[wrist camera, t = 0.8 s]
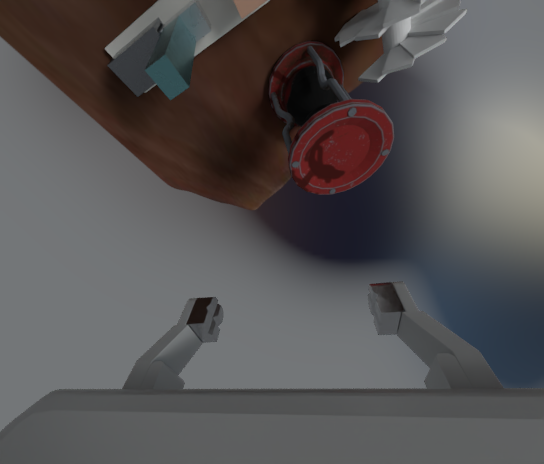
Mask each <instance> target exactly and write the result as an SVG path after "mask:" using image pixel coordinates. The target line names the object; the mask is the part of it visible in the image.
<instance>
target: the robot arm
mask: <svg viewBox="0 0 544 464" xmlns="http://www.w3.org/2000/svg"><path fill="white" fill-rule="evenodd" d="M369 292H370V293H369V294H368V304H369V308H370V311H371V313H372V315H374V324H375V327H376V330H377V332H378V335H385V334H386V335H391V334H397V336H398V337H399V338H400V339H401V340H402V341H403V342H404V343H405V344H406V345H407V346H409V347H410V349H411V350H412V351H413V352H414V353H416V354H417V356H418V357H419V358H420V359H421V360H422V361H423V362H425V364H426V365H427V366H428V367H429V368H430V370H429V372H428V375H427V377H426V379H425V381H424V382H425V384H426V387H427V389H183V387H184V384H185V383H184V381H183V380H182V379H181V378H180V377H179V376H178V375H179V373H180V372H181V371H182V369H183V368H184V367H185V365H186V364H187V363H188V362H189V361H190V359H191V358H192V357H193V355H194V354H195V353H196V351H197V350H198V349H199V347H200V346H201V345H202V343H203V342H217V338H218V335H219V331H220V329H219V327H218V326H219V325H220V324H221V323H222V320H223V309H222V307H221V305H219V304H217V303H218V300H217V298H216V297H208V298H193V299H189V300H188V301H187V303H186V305H185V308H184V310H183V312H182V315H181V317H180V319H179V321H178V323H177V325H175V326H173V327H172V328H171V329H170V330H169V331H168V332H167V333H166V334H165V335H164V336H163V337H162V338H161V339H160V340H158V341H157V342H156V343H155V344H154V345H153V346H152V347H151V348H150V349H149V350H148V351H147V352H146V353H145V354H144V355H143V356H141V357H140V358H139V359H138V360H137V361H136V363H135V365H134V367H133V369H132V371H131V373H130V375H129V377H128V379H127V381H126V382H125V384H124V386H123V388H122V389H59V390H55V391H52V392H50V393H49V394H47V395H46V396H44V397H43V398H41V399H40V400H39V401H37V402H36V403H35V404H33V405H32V406H31V407H29V408H28V409H27V410H26V411H25V412H23V413H22V414H21V415H19V416H18V417H17V418H15V419H14V420H13V421H12V422H11V423H9V424H8V425H7V426H6V427H5V428H4V429H3V430H2V431H1V432H0V464H544V388H533V389H532V388H527V389H526V388H522V389H521V388H518V389H517V388H512V389H510V388H507V389H505V388H503V386H502V385H501V383H500V382H499V380H498V379H497V377H496V376H495V374H494V373H493V371H492V370H491V368H490V367H489V365H488V364H487V362H486V360H485V359H484V357H483V356H482V354H481V353H480V351H478V350H477V349H475V348H474V347H472V346H471V345H470V344H468V343H467V342H465V341H464V340H462V339H461V338H460V337H458V336H457V335H456V334H454V333H453V332H451V331H450V330H449V329H447V328H445V327H444V326H443V325H442V324H440V323H439V322H437V321H436V320H435V319H433V318H432V317H430V316H429V315H427V314H426V313H425V312H423V311H419V310H418V308H417V306H416V304H415V302H414V301H413V299H412V297H411V295H410V293H409V291H408V289H407V287H406V286H405V284H404V283H403V282H387V283H376V284H369Z"/></svg>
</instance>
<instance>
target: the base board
mask: <svg viewBox="0 0 544 464" xmlns="http://www.w3.org/2000/svg"><path fill="white" fill-rule="evenodd" d="M190 1H192V0H158V1H157V2H156V3H155V4H153V5H152V6H151V7H150V8H149V9H148V10H147V11H146V12H144V13H143V14H142V15H141V16H140V17H139V18H138V19H137V20H135V21H134V22H133V23H132V24H131V25H130V26H129V27H128V28H126V29H125V30H124V31H123V32H122V33H121V34H120V35H119V36H117V37H116V38H115V39H114V40H113V41H112V42H111V43H109V44H108V45H107V46H106V47H105V50H106V51H107V52H108V53H109V54H110V55H111V56H112V57H114V55H115V54H116V53H117V52H118V51H119V50H120V49H122V48H123V47H124V46H125V45H126V44H127V43H129V42H130V41H131V40H132V39H133V38H134V37H136V36H137V35H138V34H139V33H140V32H141V31H143V30H144V29H145V28H146V27H147V26H148V25H150V24H151V23H152V22H153V21H154V20H155V19H157V18H158V17H159V19H160V20H161V22H162V23H163V24H164V23H165V22H167V21H168V20H169V19H170V18H171V17H173V16H174V15H175V14H176V13H177V12H179V11H180V10H181V9H182V8H183V7H185V6H186V5H187V4H188V3H189V2H190ZM198 1H199V2H200V4H201V6H202V8H203V10H204V12H205V13H206V15H207V17H208V19H209V21H210V23H211V24H212V25H211V32H209V33H208V34H207V35H205V36H204V37H203V38H201V39H200V40H199V41H198V42H196V46H195V53H194V57H195V56H196V55H197V54H199V53H200V52H201V51H203V50H204V49H205V48H207V47H208V46H209V45H211V44H212V43H213V42H215V41H216V40H217V39H219V38H220V37H222V36H223V35H224V34H226V33H227V32H228V31H230V30H231V29H232V28H234V27H235V26H236V25H238V24H239V23H240V22H242V21H243V20H244V19H246V18H247V17H248V16H250V15H251V14H253V13H254V12H255V11H257V10H258V9H259V8H261V7H262V6H263V5H265V4H266V3H267V2H269V1H270V0H267V1H266V2H265V3H263V4H262V5H260V6H259V7H258V8H256V9H255V10H254V11H252V12H251V13H250V14H248V15H247V16H246V17H244V18H243V19H242V18H241V16H240V14H239V12H238V10H237V7H236V5H235V3H234V1H233V0H198ZM155 85H157V84H154V85H153V86H152V87H150V88H149V89H148V90H146V91H145V93H146V92H147V91H149V90H150V89H151V88H153V87H154V86H155Z"/></svg>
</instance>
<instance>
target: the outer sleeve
mask: <svg viewBox="0 0 544 464" xmlns="http://www.w3.org/2000/svg"><path fill="white" fill-rule="evenodd" d="M162 25H163V23H162V22H161V20H160V19H159V17H158V18H157V19H155V20H154V21H153V22H152V23H151V24H150V25H148V26H147V27H146V28H145V29H144V30H143V31H141V32H140V33H139V34H138V35H137V36H136V37H134V38H133V39H132V40H131V41H130V42H129V43H127V44H126V45H125V46H124V47H123V48H122V49H120V50H119V51H118V52H117V53H116V54H115V55H114V57H113V58H112V60H111V61H110V62H109V64H108V65H107V66H108V67H109V68H110V69H111V70H112V71H113V72H114V73H115V74H116V75H117V76H118V77H119V78H120V79H121V80H122V81H123V82H124V83H125V84H126V85H127V86H128V87H129V88H130V90H131V91H132V92H133V93H134V94H135V95H136V96H137V97H138V96H140V95H141V94H142V93H144V92H145V91H146V90H148V89H149V88H150V87H152V86H153V85H154V84H156V83H155V82H154V81H153V80H152V78H151V77H150V76H149V75H148V74H147V73H146V71H145V69H146V66H147V64H148V62H149V60H150V57H151V55H152V53H153V51H154V49H155V46H156V44H157V42H158V40H159V38H160V34H159V32H158V31H157V29H158V28H159V27H161V26H162Z"/></svg>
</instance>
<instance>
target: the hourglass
mask: <svg viewBox="0 0 544 464" xmlns="http://www.w3.org/2000/svg"><path fill="white" fill-rule="evenodd" d="M343 76H344V72H343V68H342V65H341V61H340V59H339V58H338V56H337V55H336V54H335V52H334V51H333V49H332V48H330V47H329V46H327V45H325V44H324V43H322V42H318V41H305V42H302V43H299V44H296V45H294V46H293V47H291V48H290V49H289V50H287V51H286V52H285V53H283V55H282V56H281V57H280V59H279V60H278V61H277V63H276V64H275V66H274V68H273V71H272V74H271V76H270V79H269V91H268V93H269V97H270V102H271V106H272V108H273V110H274V112H275V114H276V115H277V117H279V118H280V119H281V120H282V121H283V122H284V123H287V125H286V126H285V127H284V129H283V132H282V134H283V137H284V141H285V144H286V147H287V151H288V154H289V156H288V163H289V168H290V173H291V176H292V178H293V179H294V181H295V182H296V184H297V185H298V186H299V187H301V188H302V189H304V190H305V191H307V192H311V193H315V194H334V193H338V192H342V191H346V190H348V189H350V188H352V187H354V186H356V185H359V184H360V183H361V182H363V181H364V180H366V179H367V178H368V177H370V176H371V175H372V174H373V173H374V172H375V171H376V170H377V169H378V168H379V167H380V166H381V165H382V163H383V162H384V160H385V159H386V157H387V156H388V154H389V152H390V150H391V147H392V143H393V140H394V130H393V123H392V121H391V120H390V118H389V117H388V115H387V114H386V112H385V111H384V110H383V109H382V107H380V106H379V105H377V104H375V103H373V102H371V101H369V100H361V99H351V97H350V96H349V95H348V93H347V92H346V90H345V89H344V88H343ZM338 100H339V102H337V101H338ZM294 126H301V128H300V129H299V130H298V132H297V134H296V136H295V138H294V139H293V141H291V138H290V135H289V131H290V130H291V129H292V128H293V127H294Z"/></svg>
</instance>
